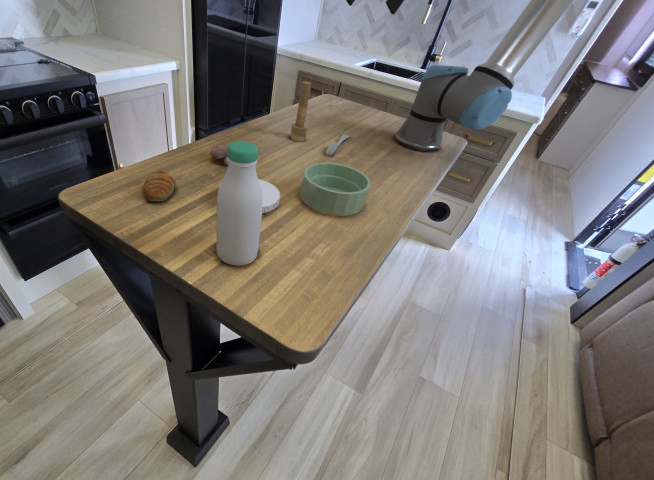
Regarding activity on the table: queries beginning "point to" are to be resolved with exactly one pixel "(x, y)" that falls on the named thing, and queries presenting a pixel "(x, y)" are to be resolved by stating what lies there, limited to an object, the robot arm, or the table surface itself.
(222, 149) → the mushroom
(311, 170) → the bowl
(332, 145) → the fork
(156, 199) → the pastry
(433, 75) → the robot arm
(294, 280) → the table surface
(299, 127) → the pestle
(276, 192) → the plastic lid
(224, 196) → the milk bottle
